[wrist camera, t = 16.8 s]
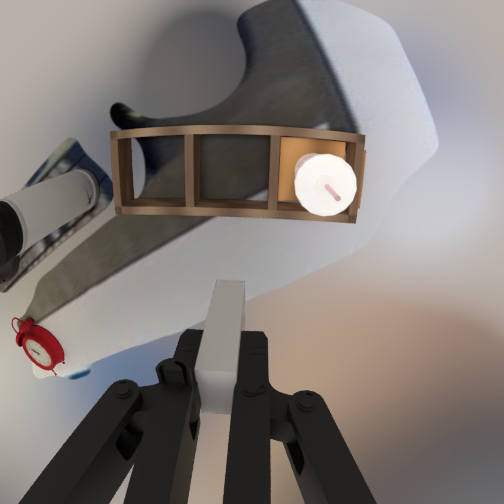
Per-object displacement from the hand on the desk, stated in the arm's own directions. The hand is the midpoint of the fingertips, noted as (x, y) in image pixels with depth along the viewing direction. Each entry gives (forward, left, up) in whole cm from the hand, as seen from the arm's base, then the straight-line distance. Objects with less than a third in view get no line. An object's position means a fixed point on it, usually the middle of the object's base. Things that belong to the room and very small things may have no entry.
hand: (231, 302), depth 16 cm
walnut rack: (-3, +3, -24) cm, 24 cm away
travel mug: (-23, -7, -24) cm, 34 cm away
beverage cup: (+6, +6, -24) cm, 25 cm away
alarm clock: (-32, -45, -24) cm, 60 cm away
